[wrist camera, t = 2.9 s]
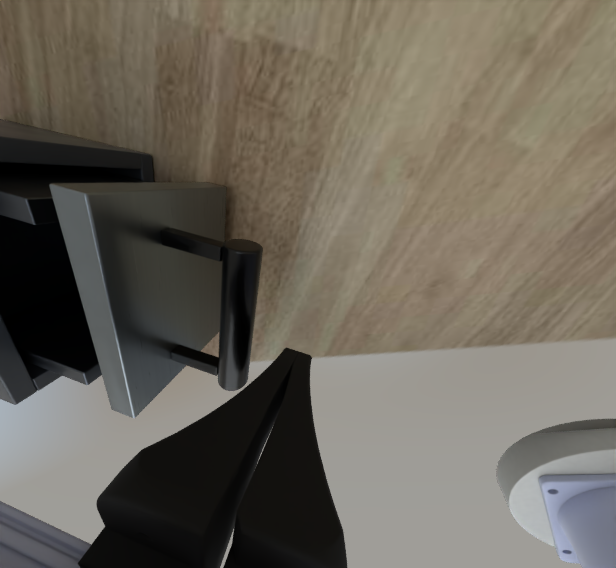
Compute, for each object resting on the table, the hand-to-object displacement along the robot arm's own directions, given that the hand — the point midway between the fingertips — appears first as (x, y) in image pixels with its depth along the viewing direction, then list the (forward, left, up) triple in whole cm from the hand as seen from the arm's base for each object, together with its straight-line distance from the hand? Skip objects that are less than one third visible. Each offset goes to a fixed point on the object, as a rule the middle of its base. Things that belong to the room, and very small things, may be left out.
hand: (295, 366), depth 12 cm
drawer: (+7, +5, -3) cm, 10 cm away
